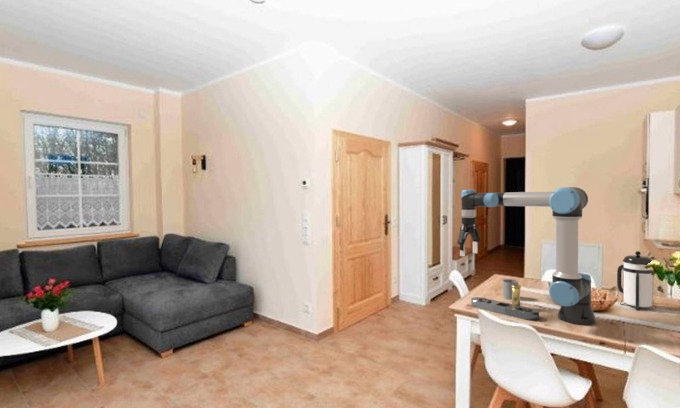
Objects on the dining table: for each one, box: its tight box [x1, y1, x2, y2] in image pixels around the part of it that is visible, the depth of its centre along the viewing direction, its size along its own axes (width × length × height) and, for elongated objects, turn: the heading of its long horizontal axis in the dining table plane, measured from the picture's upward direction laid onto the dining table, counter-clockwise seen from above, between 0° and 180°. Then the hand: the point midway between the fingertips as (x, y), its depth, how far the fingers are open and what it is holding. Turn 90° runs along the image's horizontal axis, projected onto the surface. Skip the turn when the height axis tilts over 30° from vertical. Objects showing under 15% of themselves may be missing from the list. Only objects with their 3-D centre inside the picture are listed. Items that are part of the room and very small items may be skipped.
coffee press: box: [616, 250, 657, 311], centre depth 195 cm, size 17×16×30 cm
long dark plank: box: [470, 296, 540, 322], centre depth 191 cm, size 35×9×4 cm, turn 41°
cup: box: [502, 278, 519, 301], centre depth 215 cm, size 8×8×10 cm
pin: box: [511, 284, 522, 306], centre depth 197 cm, size 5×5×12 cm
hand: (469, 254), depth 205 cm, fingers open, 13 cm apart
